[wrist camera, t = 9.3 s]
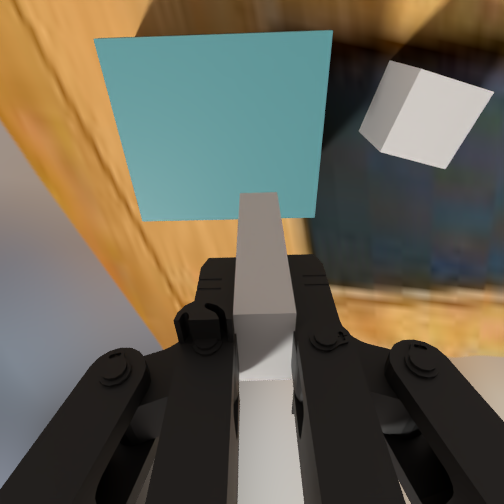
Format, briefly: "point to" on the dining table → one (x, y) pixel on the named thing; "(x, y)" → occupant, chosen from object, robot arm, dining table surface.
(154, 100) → the lid
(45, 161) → the dining table surface
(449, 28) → the dining table surface
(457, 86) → the light grey cube
